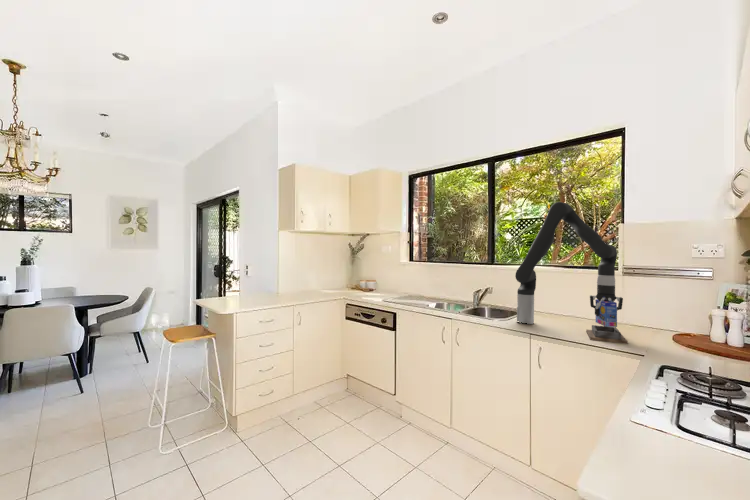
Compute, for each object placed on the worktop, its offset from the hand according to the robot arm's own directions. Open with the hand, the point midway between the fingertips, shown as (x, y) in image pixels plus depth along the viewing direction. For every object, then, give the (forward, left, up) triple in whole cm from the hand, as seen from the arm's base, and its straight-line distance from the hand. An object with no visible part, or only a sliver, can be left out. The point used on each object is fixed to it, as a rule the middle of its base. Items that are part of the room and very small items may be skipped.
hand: (605, 316), depth 170 cm
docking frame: (0, 0, -10) cm, 10 cm away
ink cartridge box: (0, 0, -4) cm, 4 cm away
